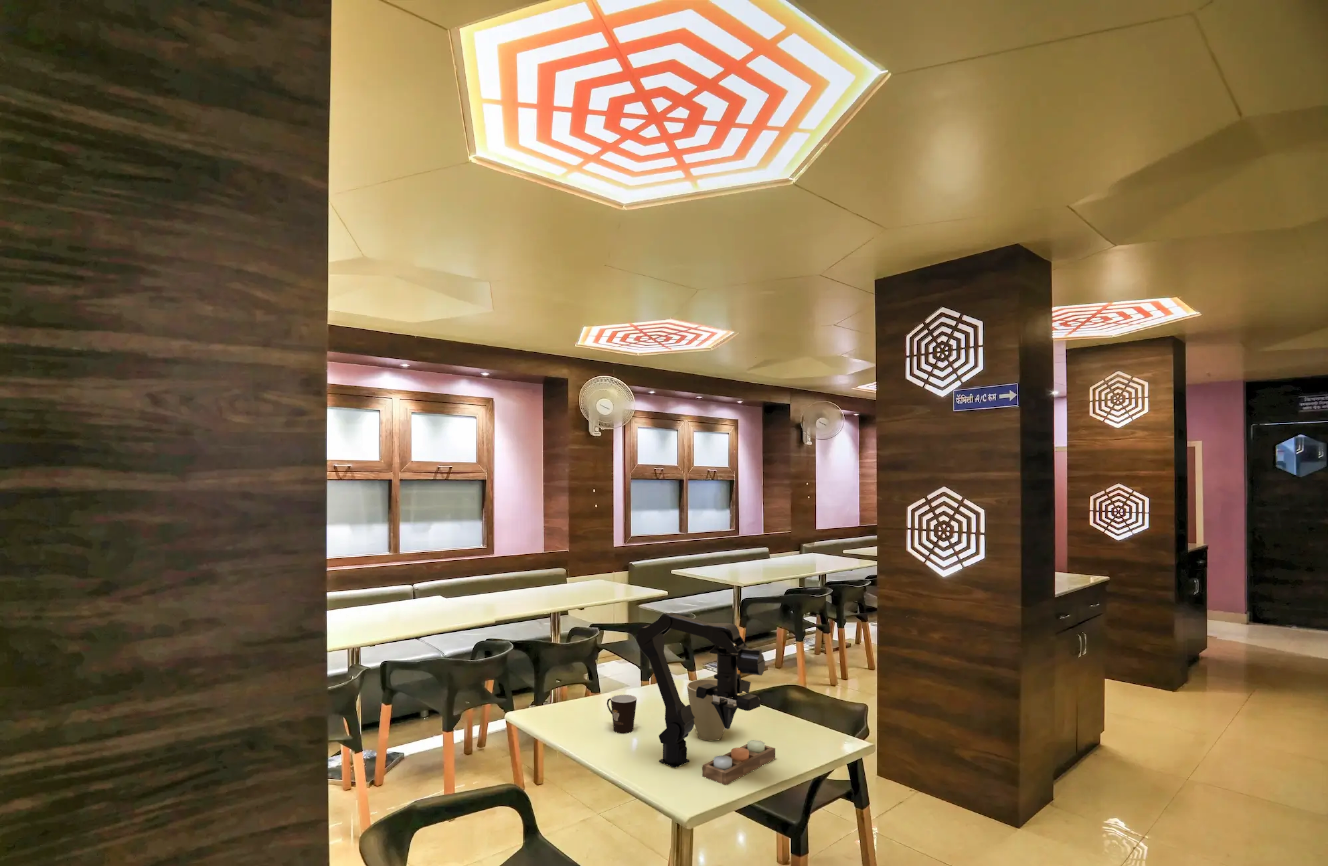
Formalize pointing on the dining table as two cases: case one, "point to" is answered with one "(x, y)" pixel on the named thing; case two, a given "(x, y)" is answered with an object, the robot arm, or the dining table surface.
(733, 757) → the terracotta button
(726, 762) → the slate button
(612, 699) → the coffee mug
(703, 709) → the plant pot
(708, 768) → the brown wooden flat tray
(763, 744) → the sage button
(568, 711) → the dining table surface
